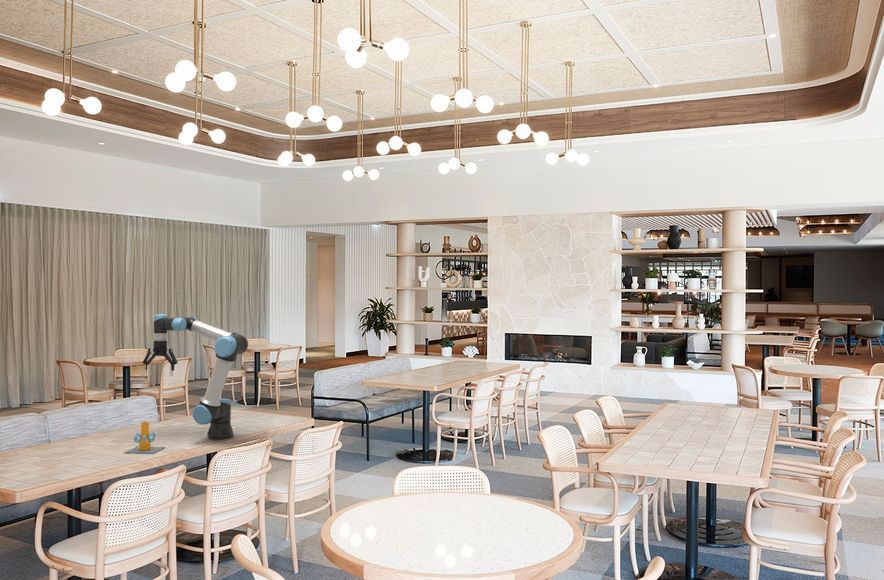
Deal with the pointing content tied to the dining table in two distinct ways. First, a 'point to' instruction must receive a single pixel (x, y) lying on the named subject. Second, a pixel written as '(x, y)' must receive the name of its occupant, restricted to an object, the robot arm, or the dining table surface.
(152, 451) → the card
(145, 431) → the orange hollow ringed part
